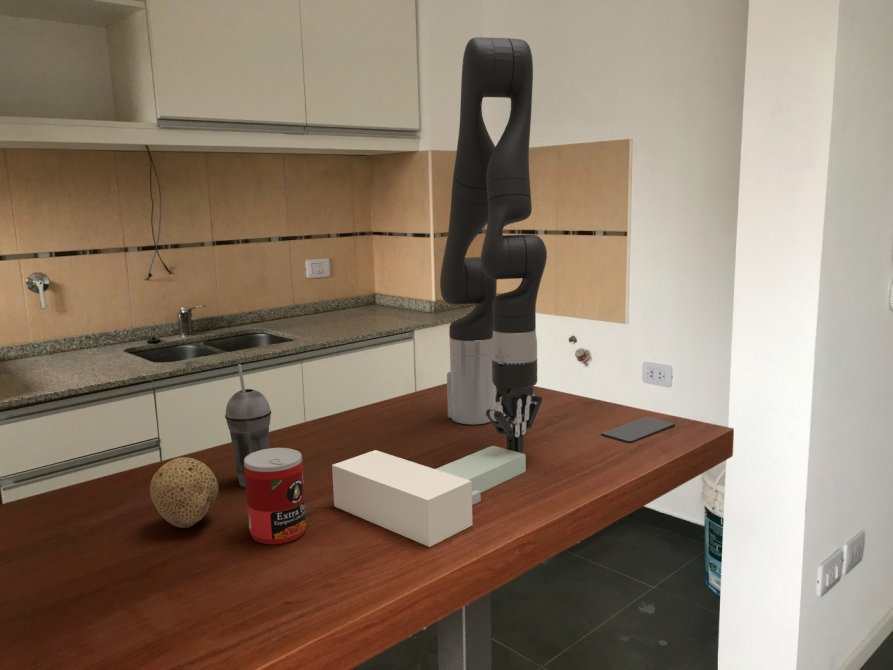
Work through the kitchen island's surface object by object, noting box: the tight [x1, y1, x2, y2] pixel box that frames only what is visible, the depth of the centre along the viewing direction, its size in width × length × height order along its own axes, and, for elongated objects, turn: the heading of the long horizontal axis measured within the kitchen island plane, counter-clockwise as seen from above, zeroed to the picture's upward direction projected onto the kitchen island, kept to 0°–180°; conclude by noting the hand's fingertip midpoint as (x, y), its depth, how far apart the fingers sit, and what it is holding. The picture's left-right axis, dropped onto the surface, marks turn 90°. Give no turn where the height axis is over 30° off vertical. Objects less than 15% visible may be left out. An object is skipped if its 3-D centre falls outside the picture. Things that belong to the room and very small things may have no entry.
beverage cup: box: [224, 363, 272, 488], centre depth 117 cm, size 7×7×20 cm
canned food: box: [244, 447, 307, 545], centre depth 100 cm, size 8×8×11 cm
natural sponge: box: [149, 456, 219, 529], centre depth 103 cm, size 9×9×10 cm
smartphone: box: [600, 416, 676, 444], centre depth 140 cm, size 7×1×15 cm
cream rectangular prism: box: [331, 449, 482, 548], centre depth 107 cm, size 20×16×6 cm
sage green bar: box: [435, 445, 527, 493], centre depth 117 cm, size 7×16×3 cm, turn 137°
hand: (515, 455), depth 124 cm, fingers closed
